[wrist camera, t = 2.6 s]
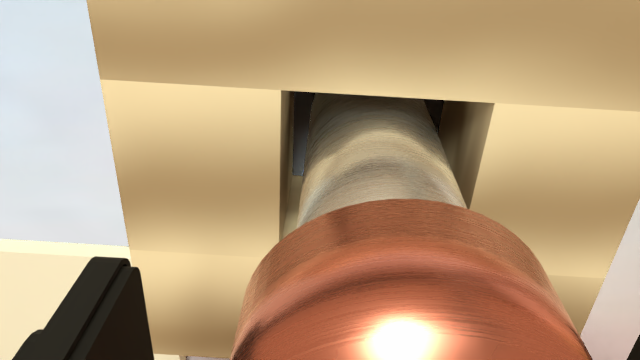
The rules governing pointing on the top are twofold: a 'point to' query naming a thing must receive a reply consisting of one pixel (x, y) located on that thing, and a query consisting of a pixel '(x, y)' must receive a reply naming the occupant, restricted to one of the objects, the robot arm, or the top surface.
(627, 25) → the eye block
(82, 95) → the top surface
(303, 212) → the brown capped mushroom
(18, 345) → the pad
